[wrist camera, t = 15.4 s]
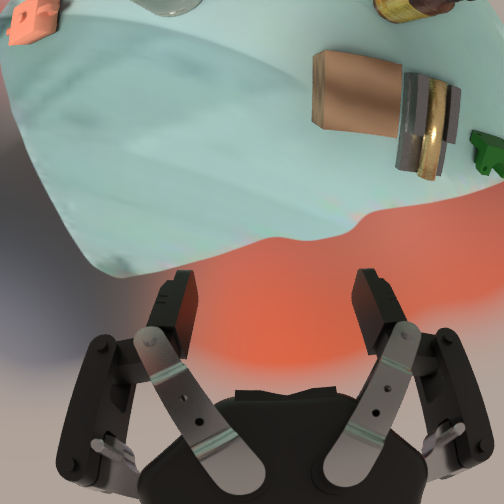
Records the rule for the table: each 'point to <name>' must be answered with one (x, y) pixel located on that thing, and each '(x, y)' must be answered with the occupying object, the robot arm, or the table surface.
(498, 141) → the clamp
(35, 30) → the pink cube teapot
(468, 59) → the table surface
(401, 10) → the sauce bottle
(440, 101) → the cannon barrel
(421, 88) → the rest
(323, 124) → the wooden mallet head
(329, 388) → the robot arm
